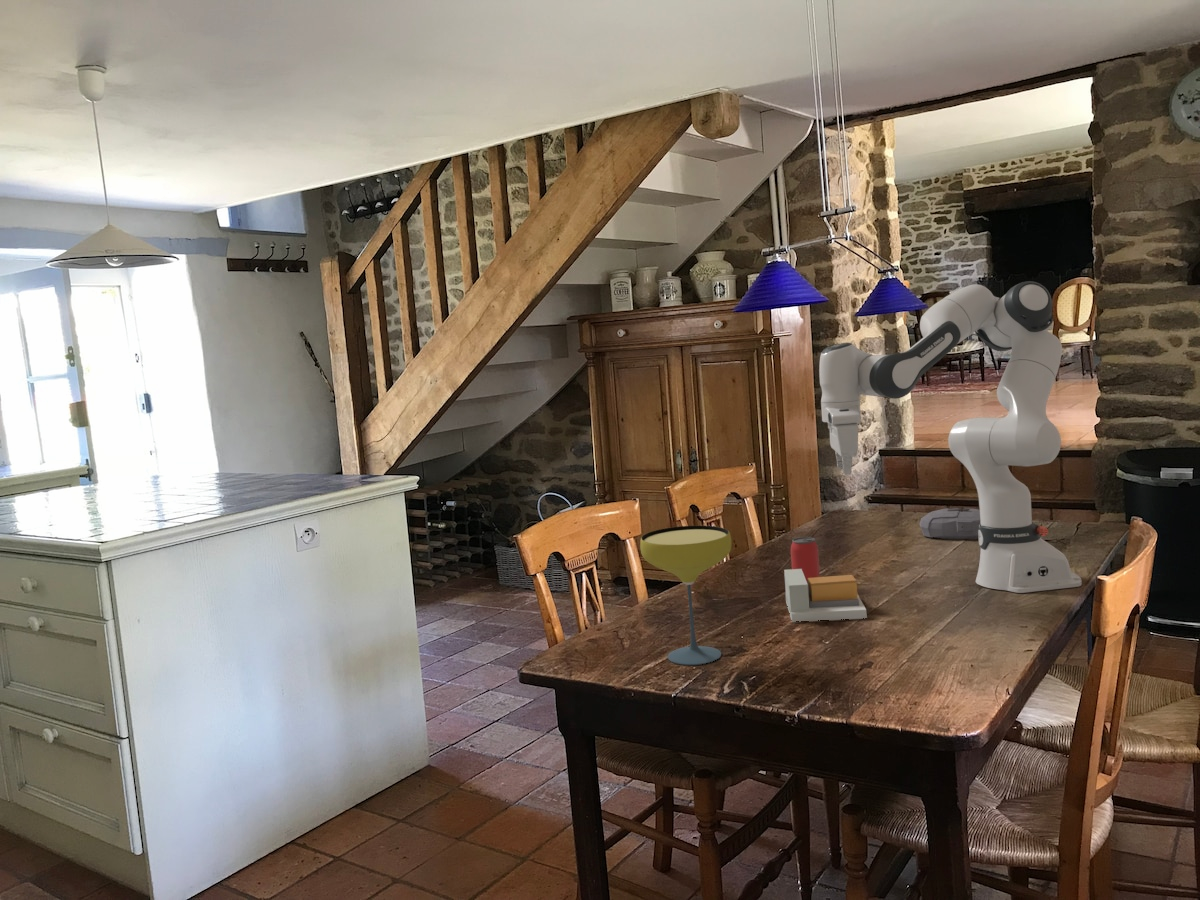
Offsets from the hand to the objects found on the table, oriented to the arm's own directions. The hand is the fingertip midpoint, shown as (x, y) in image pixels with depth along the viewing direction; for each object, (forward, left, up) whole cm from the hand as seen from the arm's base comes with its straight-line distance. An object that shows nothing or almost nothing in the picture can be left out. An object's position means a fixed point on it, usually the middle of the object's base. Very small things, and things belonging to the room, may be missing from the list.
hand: (844, 471), depth 222 cm
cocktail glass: (+37, +41, -29) cm, 63 cm away
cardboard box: (+6, +14, -27) cm, 31 cm away
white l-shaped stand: (+8, +14, -29) cm, 33 cm away
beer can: (+10, -6, -29) cm, 32 cm away
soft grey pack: (-37, -53, -30) cm, 71 cm away
